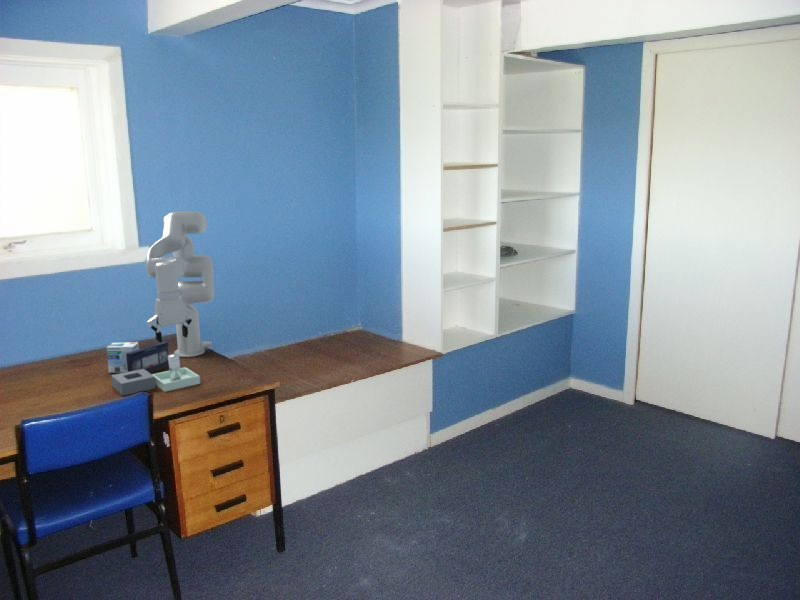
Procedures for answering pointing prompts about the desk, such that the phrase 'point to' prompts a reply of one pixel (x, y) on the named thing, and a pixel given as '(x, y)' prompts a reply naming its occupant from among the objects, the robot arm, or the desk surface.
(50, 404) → the desk surface
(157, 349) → the vhs cassette tape
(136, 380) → the pin holder
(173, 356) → the steel pin
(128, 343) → the light bulb box
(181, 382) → the tray
